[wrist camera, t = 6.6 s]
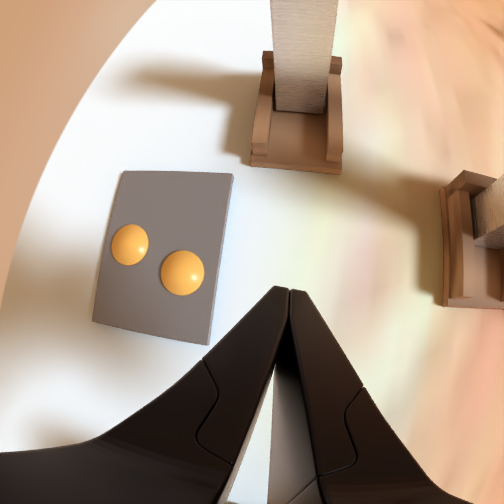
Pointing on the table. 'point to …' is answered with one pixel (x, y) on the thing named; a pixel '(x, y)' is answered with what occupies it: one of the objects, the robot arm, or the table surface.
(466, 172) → the track
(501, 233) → the lever
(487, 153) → the table surface
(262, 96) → the track
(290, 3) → the lever
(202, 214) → the pattern card
